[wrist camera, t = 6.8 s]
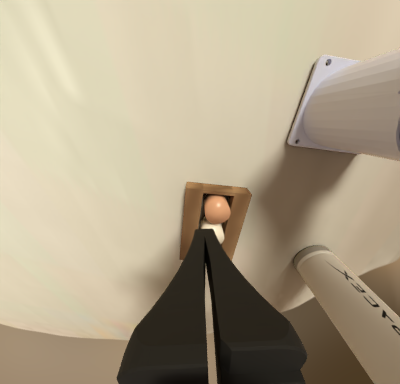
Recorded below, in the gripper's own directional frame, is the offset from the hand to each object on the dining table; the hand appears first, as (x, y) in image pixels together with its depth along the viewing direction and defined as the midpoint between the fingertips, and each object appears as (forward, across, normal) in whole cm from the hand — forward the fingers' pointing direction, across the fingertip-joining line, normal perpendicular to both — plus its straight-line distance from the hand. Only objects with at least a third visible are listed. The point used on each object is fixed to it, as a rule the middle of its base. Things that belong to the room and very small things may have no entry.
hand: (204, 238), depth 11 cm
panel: (+9, -1, +6) cm, 11 cm away
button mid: (+8, -1, +6) cm, 10 cm away
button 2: (+8, -2, +2) cm, 8 cm away
